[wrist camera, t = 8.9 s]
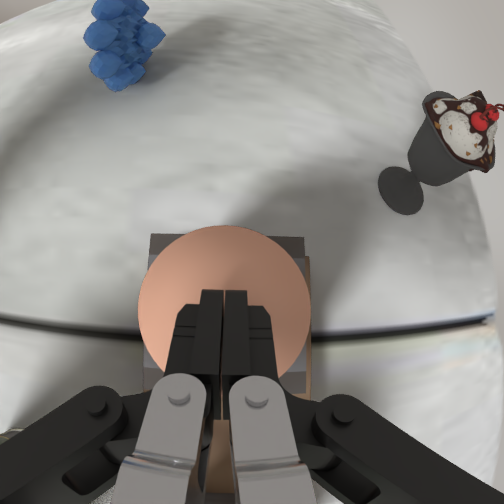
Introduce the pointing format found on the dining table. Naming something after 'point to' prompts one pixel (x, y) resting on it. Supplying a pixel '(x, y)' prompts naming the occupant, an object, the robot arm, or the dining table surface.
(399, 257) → the dining table surface
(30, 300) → the dining table surface
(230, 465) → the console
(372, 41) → the dining table surface
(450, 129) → the sundae
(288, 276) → the button
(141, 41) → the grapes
